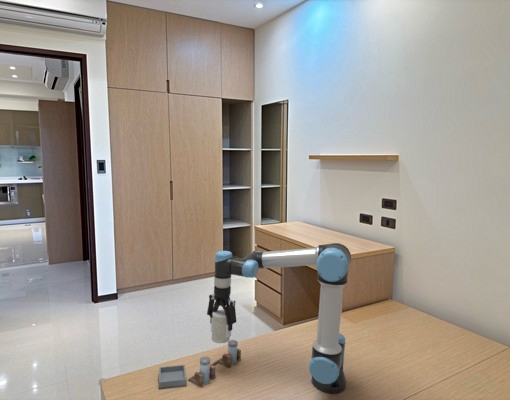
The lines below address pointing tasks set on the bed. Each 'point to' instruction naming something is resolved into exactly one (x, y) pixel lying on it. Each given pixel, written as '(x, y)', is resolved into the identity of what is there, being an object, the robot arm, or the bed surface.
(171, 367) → the tray
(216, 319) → the light grey canister
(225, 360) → the clip rack
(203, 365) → the grey rounded cylinder
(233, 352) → the fuse
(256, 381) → the bed surface
